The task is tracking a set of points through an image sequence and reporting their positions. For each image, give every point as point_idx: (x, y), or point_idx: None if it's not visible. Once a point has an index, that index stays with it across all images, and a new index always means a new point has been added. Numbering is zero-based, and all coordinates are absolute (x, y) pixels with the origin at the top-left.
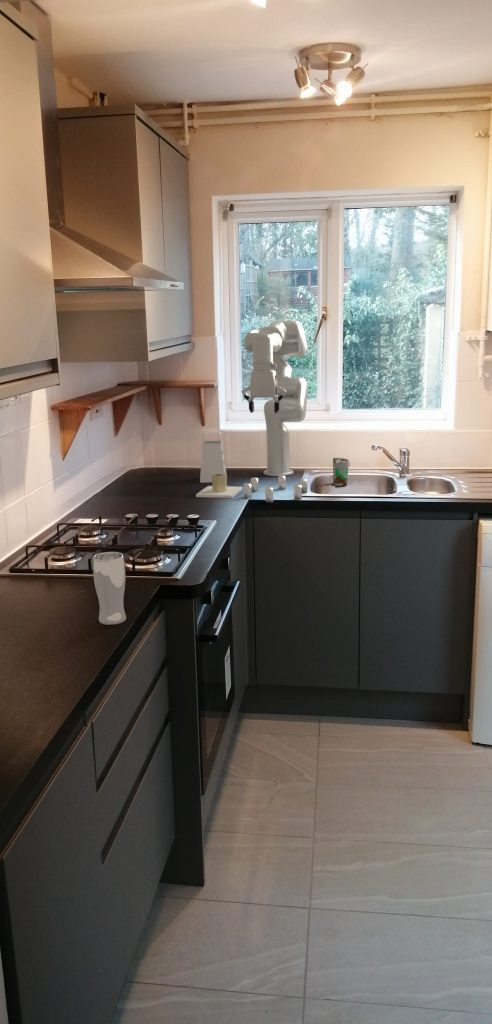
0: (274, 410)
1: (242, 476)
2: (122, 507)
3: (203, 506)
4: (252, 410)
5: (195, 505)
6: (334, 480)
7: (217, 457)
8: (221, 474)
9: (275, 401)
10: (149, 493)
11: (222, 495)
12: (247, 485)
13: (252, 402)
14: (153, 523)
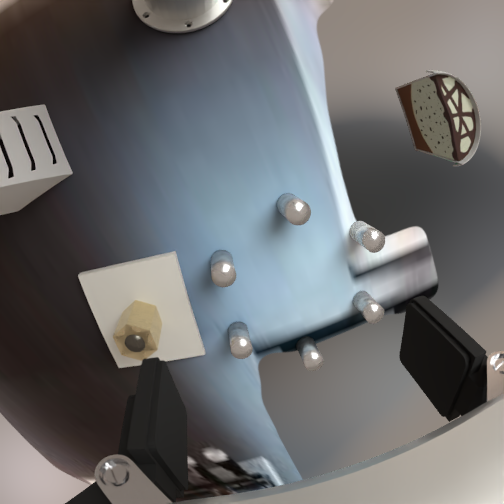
0: (408, 371)
1: (83, 72)
2: (74, 441)
3: (190, 415)
4: (180, 410)
5: None
6: (414, 120)
7: (12, 191)
8: (136, 336)
9: (462, 412)
10: (18, 355)
11: (182, 358)
12: (246, 356)
13: (177, 476)
14: None
